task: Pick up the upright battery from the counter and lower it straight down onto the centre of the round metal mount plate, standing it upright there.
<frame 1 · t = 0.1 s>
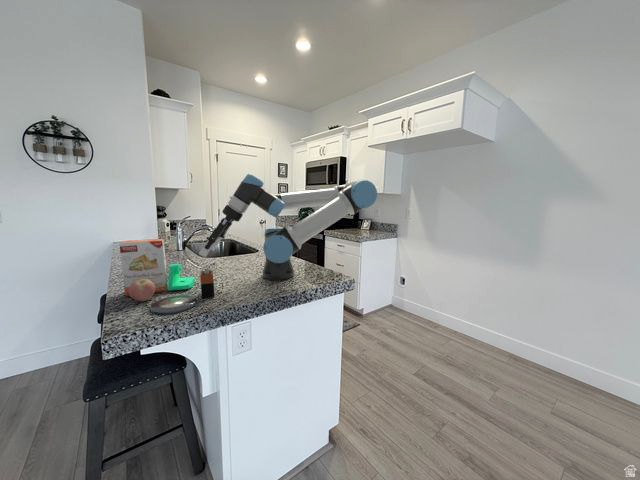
hand: (206, 252, 107), 15 cm above the worktop, tool tilted 35°, fingers open, 13 cm apart
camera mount: (183, 287, 112), on the worktop
battery: (208, 295, 102), on the worktop
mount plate: (174, 305, 92), on the worktop
apple: (143, 301, 96), on the worktop
cracker box: (147, 292, 106), on the worktop
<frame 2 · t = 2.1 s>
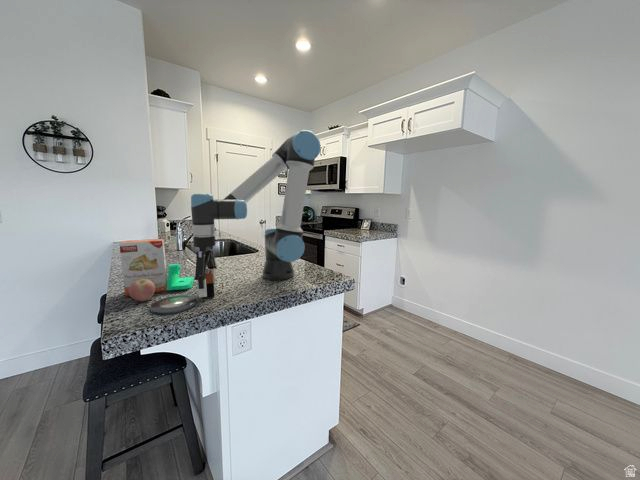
hand: (207, 290, 101), 2 cm above the worktop, tool pointing down, fingers open, 13 cm apart
nothing on the worktop moved.
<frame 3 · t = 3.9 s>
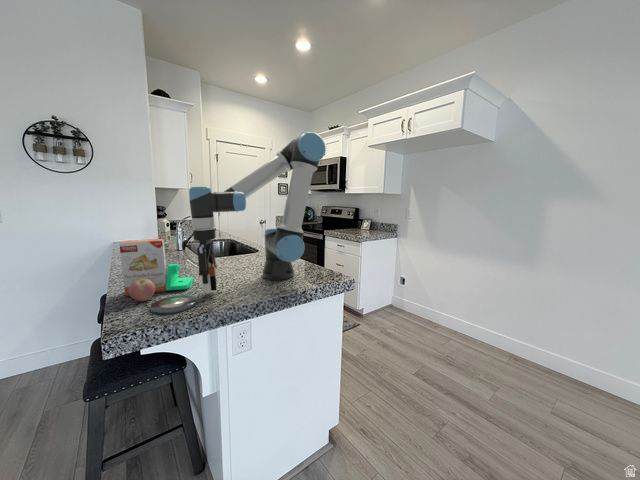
hand: (209, 287, 102), 3 cm above the worktop, tool pointing down, fingers closed on battery, 7 cm apart
battery: (210, 289, 102), point 2 cm above the worktop, touching gripper
everything else where it was.
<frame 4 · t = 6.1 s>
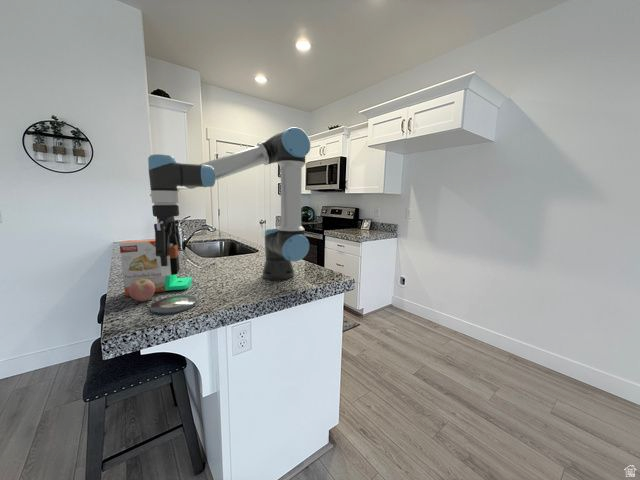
hand: (171, 271, 90), 12 cm above the worktop, tool pointing down, fingers closed on battery, 7 cm apart
battery: (171, 273, 90), point 12 cm above the worktop, touching gripper
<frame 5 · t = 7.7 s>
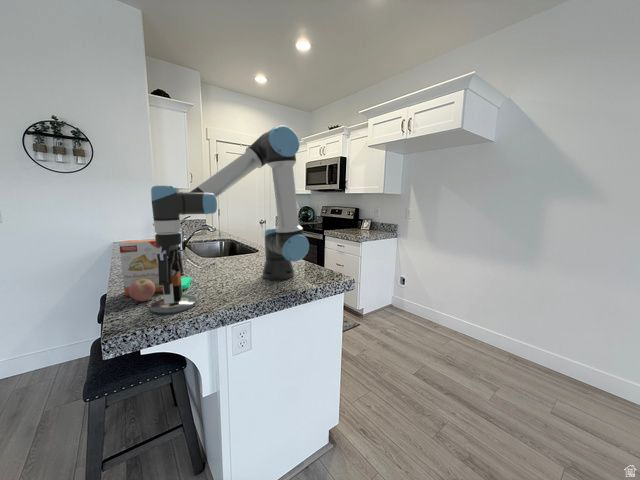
hand: (174, 298, 91), 3 cm above the worktop, tool pointing down, fingers closed on battery, 7 cm apart
battery: (174, 299, 91), point 2 cm above the worktop, touching gripper
when the fingers open (3 cm above the worktop, at t = 8.5 s): battery stays where it is, resting on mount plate.
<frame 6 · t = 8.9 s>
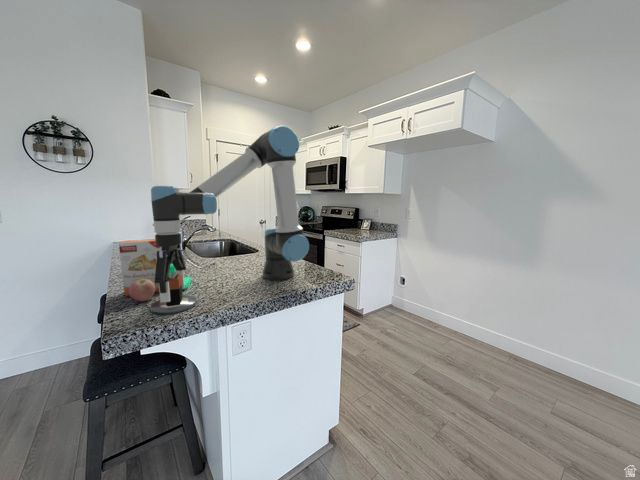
hand: (173, 294, 91), 4 cm above the worktop, tool pointing down, fingers open, 13 cm apart
battery: (174, 302, 92), point 1 cm above the worktop, touching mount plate
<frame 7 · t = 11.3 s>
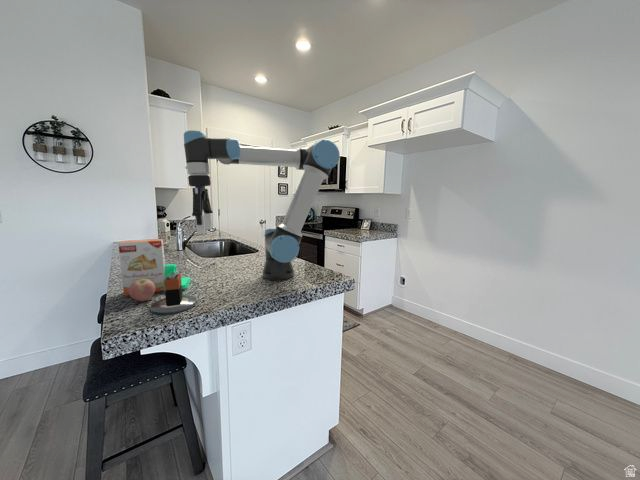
hand: (205, 231, 102), 24 cm above the worktop, tool pointing down, fingers open, 13 cm apart
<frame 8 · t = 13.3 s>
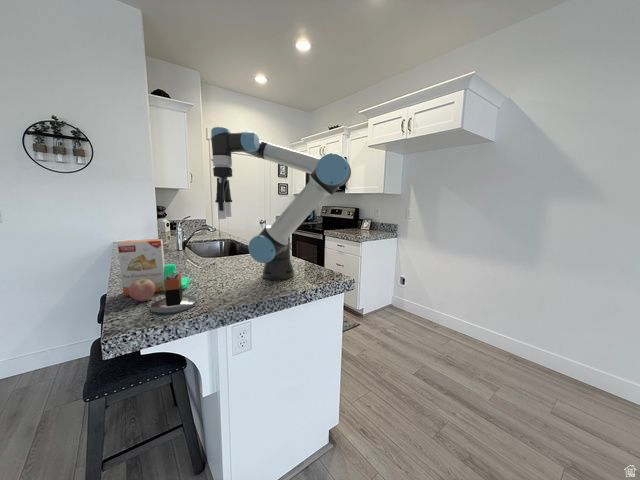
hand: (225, 217, 114), 29 cm above the worktop, tool pointing down, fingers open, 13 cm apart
at the end: battery inside the target area on the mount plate (0.2 cm from its centre), point 1.1 cm above the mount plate's base; battery tilted 0°; the gripper is holding nothing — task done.
